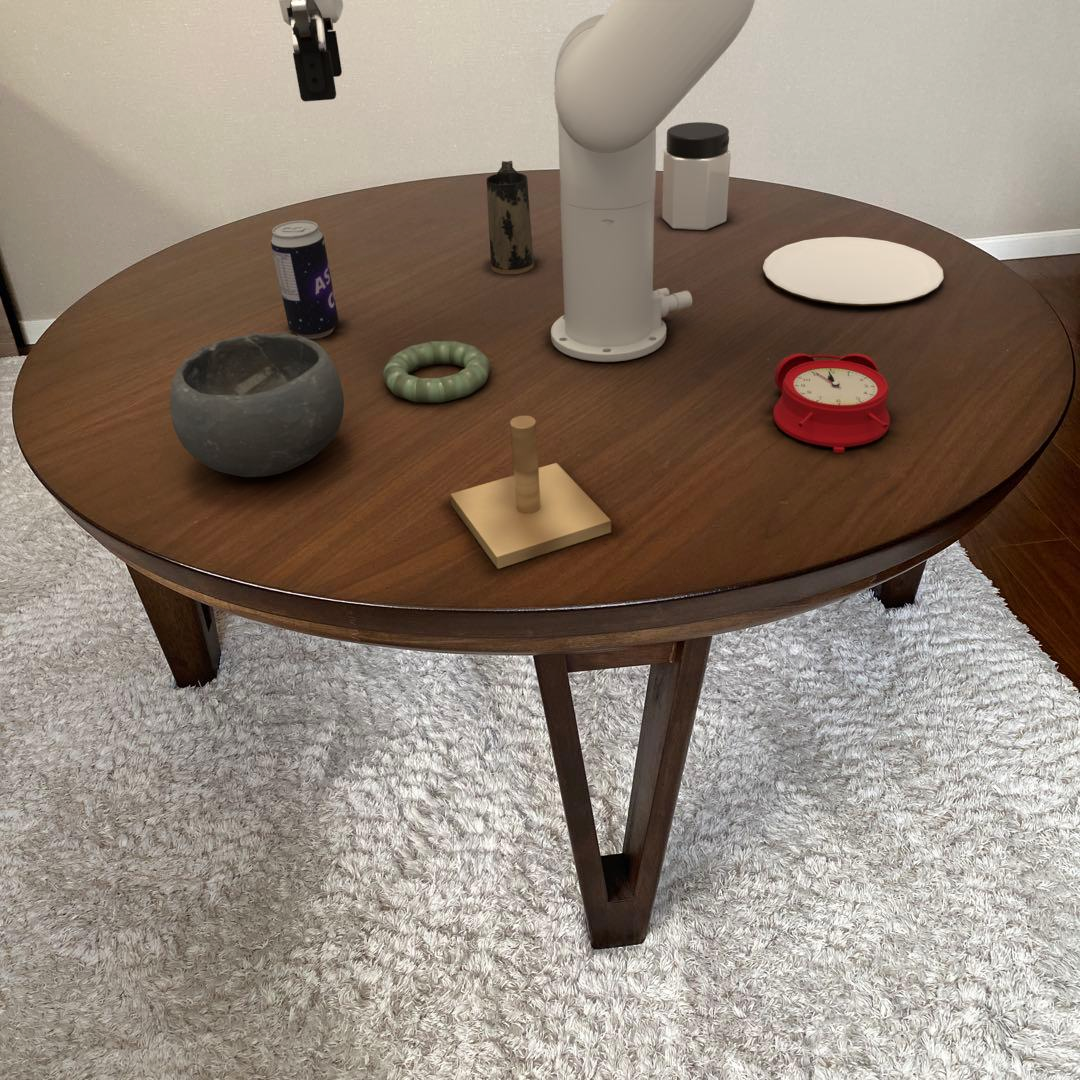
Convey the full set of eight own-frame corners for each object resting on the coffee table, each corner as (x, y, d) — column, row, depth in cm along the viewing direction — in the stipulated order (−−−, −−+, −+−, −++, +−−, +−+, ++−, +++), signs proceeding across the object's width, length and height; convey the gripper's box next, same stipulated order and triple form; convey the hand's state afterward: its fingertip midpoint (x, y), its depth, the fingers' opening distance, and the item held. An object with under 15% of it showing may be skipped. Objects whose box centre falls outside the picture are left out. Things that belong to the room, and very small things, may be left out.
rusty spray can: (533, 273, 126) (528, 176, 119) (490, 275, 126) (482, 178, 119) (533, 251, 132) (529, 157, 125) (492, 253, 132) (485, 159, 125)
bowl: (159, 464, 93) (127, 367, 87) (295, 405, 101) (275, 312, 95) (243, 527, 84) (214, 423, 78) (385, 456, 92) (369, 357, 86)
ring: (467, 349, 109) (465, 329, 108) (506, 390, 101) (505, 368, 100) (372, 372, 106) (369, 352, 104) (405, 416, 98) (402, 394, 96)
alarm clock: (783, 420, 86) (772, 314, 96) (775, 471, 91) (765, 365, 101) (907, 421, 85) (884, 313, 95) (893, 473, 90) (871, 365, 100)
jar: (734, 227, 136) (740, 135, 129) (676, 234, 134) (680, 142, 127) (710, 206, 143) (715, 118, 136) (655, 213, 142) (657, 125, 134)
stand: (557, 473, 88) (552, 380, 83) (611, 532, 81) (610, 433, 75) (451, 505, 85) (439, 410, 79) (497, 569, 78) (488, 469, 72)
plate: (981, 290, 115) (983, 280, 114) (827, 326, 109) (829, 315, 109) (869, 235, 131) (870, 225, 130) (730, 263, 125) (730, 254, 125)
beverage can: (329, 342, 112) (309, 237, 105) (282, 340, 113) (259, 236, 106) (347, 321, 117) (329, 219, 110) (301, 319, 118) (281, 218, 111)
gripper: (325, -125, 78) (358, 106, 89) (337, -135, 92) (365, 66, 102) (228, -119, 78) (273, 113, 88) (255, -130, 92) (291, 71, 102)
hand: (322, 87), depth 95 cm, fingers open, 9 cm apart
